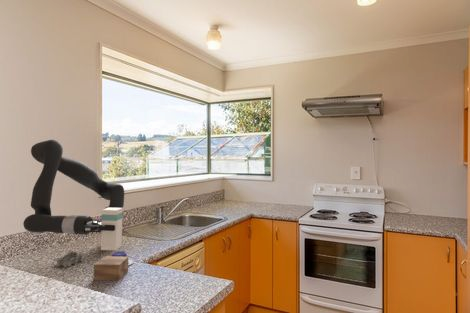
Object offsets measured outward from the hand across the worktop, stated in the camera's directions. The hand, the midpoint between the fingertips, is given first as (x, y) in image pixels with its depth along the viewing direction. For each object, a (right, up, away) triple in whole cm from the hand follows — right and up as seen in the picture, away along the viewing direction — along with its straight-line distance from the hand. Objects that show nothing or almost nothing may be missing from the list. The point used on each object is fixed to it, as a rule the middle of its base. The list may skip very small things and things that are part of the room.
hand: (117, 226), depth 127 cm
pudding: (-5, -21, +13) cm, 25 cm away
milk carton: (-3, -9, 0) cm, 9 cm away
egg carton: (-27, -20, +14) cm, 36 cm away
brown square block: (-3, -20, 0) cm, 20 cm away
